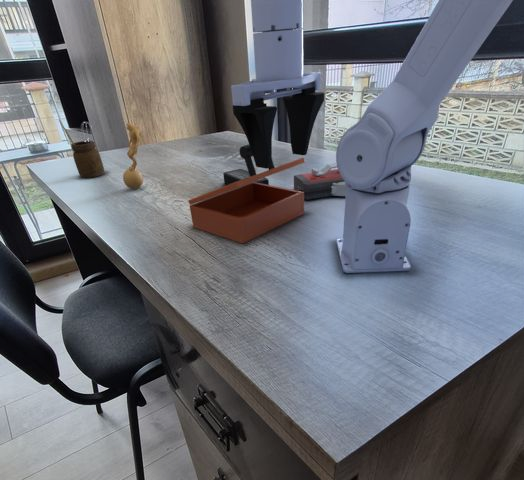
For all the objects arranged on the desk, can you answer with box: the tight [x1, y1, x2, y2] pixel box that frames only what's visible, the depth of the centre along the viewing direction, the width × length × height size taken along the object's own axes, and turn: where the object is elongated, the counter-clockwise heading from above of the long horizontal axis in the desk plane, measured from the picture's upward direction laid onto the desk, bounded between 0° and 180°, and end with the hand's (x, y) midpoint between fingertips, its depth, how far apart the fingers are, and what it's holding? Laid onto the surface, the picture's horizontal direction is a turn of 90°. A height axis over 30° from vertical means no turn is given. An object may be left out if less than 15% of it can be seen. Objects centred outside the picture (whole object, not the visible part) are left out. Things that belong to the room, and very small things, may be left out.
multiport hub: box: [222, 168, 270, 188], centre depth 76 cm, size 4×11×2 cm, turn 32°
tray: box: [189, 182, 305, 244], centre depth 62 cm, size 11×14×4 cm
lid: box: [188, 143, 306, 206], centre depth 58 cm, size 12×14×5 cm
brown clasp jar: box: [58, 119, 105, 179], centre depth 89 cm, size 6×6×12 cm
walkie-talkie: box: [293, 162, 346, 201], centre depth 70 cm, size 9×4×20 cm
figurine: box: [122, 122, 144, 190], centre depth 78 cm, size 8×6×12 cm
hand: (282, 160), depth 52 cm, fingers open, 7 cm apart
